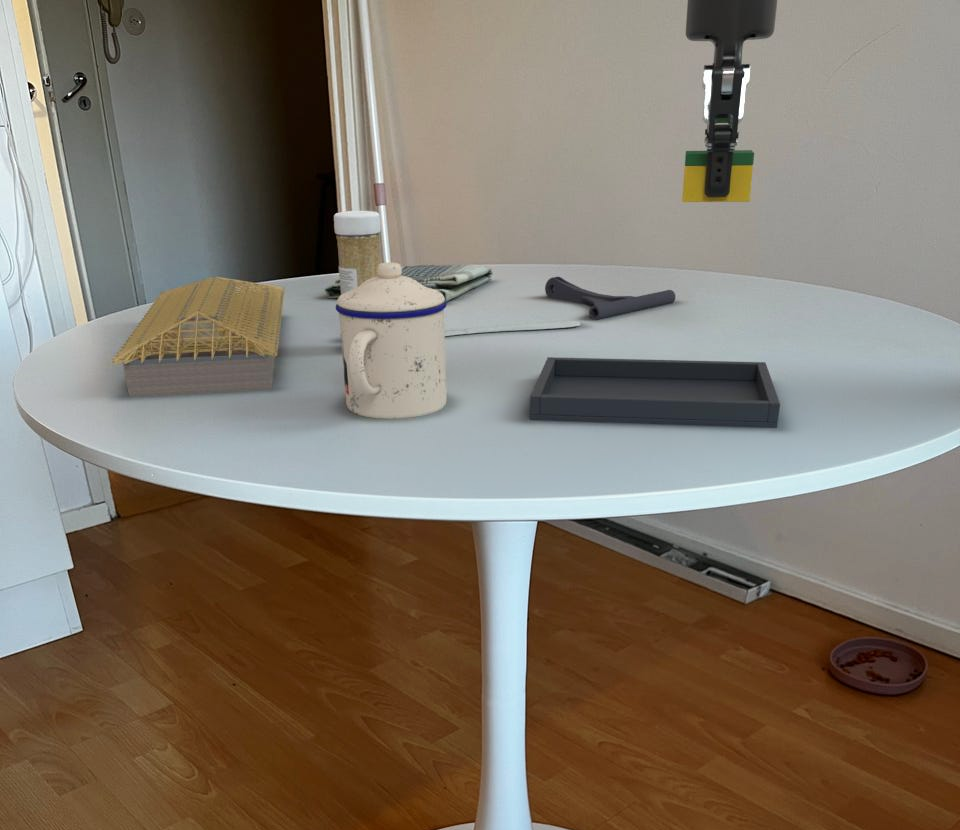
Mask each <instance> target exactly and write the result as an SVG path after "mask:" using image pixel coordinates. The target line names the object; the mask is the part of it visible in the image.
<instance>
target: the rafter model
mask: <svg viewBox="0 0 960 830" xmlns="http://www.w3.org/2000/svg"><path fill="white" fill-rule="evenodd" d="M285 289H286V288H285V287H284V286H278V285H272V284H265V283H259V282H254V281H253V282H252V281H246V280H241V279H234V278H227V277H220V276H211V277H209V278H206V279H202V280H198V281H195V282H192V283H188V284H185V285H181V286H178V287H175V288H172V289H168V290H165V291H161V292H160V293H159V294H158V296H157V297H156V299H155V300H154V301H153V303H152V305H150V307H149V308H148V310H147V312H145V314H144V315H143V317H142V318H141V320H139V322H138V323H137V325H136V326H135V328H134V329H133V331H131V334H129V337H127V340H125V342H124V343H123V344H122V346H121V347H120V349H119V350H118V352H116V353H115V354H114V357H113V358H112V359H111V361H109V363H110V365H115V364H120V363H122V365H123V367H122V368H123V371H124V378H125V382H126V389H127V393H128V397H129V398H136V397H137V398H139V397H156V396H173V395H174V396H175V395H191V394H193V395H194V394H212V393H229V392H230V393H231V392H247V391H250V392H251V391H268V390H269V391H270V390H273V382H274V373H275V365H276V357H278V353H279V351H278V350H279V343H280V336H281V335H280V334H281V325H282V317H283V307H284V299H285V291H286V290H285Z"/></svg>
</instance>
